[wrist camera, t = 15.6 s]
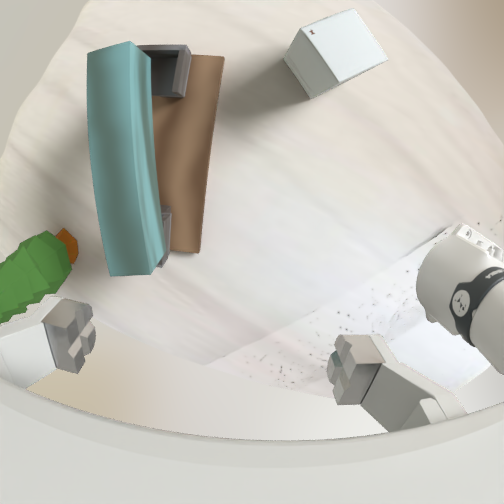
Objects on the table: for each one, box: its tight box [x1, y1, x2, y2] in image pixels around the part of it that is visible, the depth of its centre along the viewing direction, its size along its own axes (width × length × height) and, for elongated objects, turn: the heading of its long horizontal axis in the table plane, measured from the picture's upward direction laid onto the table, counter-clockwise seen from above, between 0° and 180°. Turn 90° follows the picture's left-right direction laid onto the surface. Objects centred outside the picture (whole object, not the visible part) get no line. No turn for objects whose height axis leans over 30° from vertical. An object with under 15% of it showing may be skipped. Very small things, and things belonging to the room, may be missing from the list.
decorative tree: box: [0, 228, 78, 324], centre depth 29 cm, size 10×9×30 cm
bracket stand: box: [137, 45, 225, 268], centre depth 33 cm, size 12×28×13 cm, turn 172°
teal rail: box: [87, 41, 166, 276], centre depth 24 cm, size 4×20×6 cm, turn 3°
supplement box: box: [283, 8, 388, 99], centre depth 29 cm, size 7×7×13 cm
